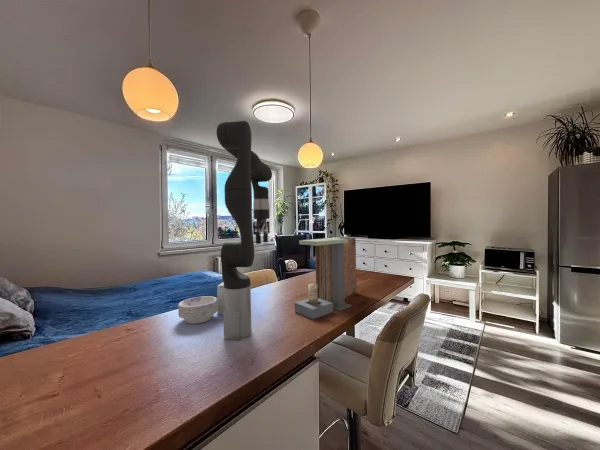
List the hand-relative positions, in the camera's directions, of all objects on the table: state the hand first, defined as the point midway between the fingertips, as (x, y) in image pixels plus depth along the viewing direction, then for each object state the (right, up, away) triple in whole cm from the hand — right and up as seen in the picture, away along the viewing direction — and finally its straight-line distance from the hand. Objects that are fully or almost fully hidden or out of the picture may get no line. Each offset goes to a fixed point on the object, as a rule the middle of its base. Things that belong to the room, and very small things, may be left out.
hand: (262, 243), depth 118 cm
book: (+38, -29, +11) cm, 49 cm away
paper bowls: (-24, -31, -15) cm, 42 cm away
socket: (+24, -30, -9) cm, 39 cm away
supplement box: (-14, -31, -6) cm, 34 cm away
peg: (+24, -30, -9) cm, 39 cm away
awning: (+30, -29, -7) cm, 43 cm away
